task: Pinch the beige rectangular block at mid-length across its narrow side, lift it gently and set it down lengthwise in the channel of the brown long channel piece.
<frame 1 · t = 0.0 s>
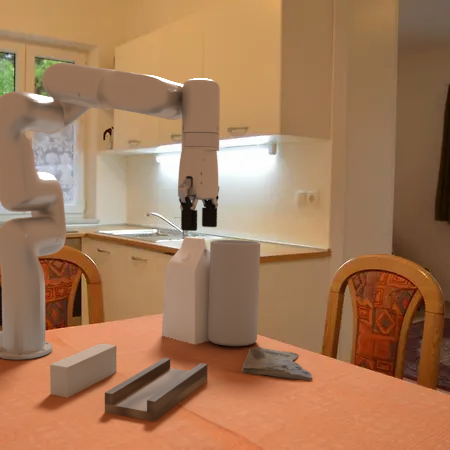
hand: (199, 228, 118), 31 cm above the table, tool pointing down, fingers open, 9 cm apart
cylinder vase: (232, 341, 147), on the table, touching milk
beige rectangular block: (85, 383, 118), on the table
brown long channel piece: (159, 395, 111), on the table
milk: (193, 336, 154), on the table, touching cylinder vase
fossil rock: (276, 368, 130), on the table
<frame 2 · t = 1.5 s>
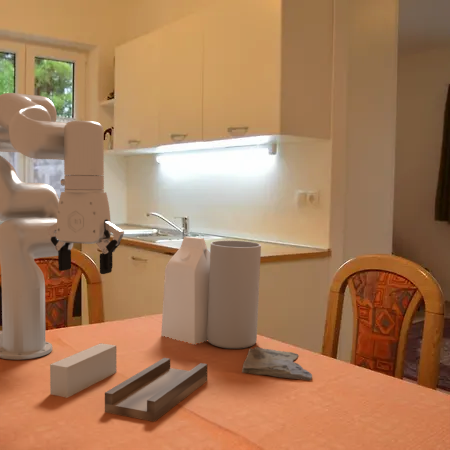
hand: (85, 271, 116), 23 cm above the table, tool pointing down, fingers open, 9 cm apart
cylinder vase: (231, 342, 148), on the table, touching milk
everything else where it was.
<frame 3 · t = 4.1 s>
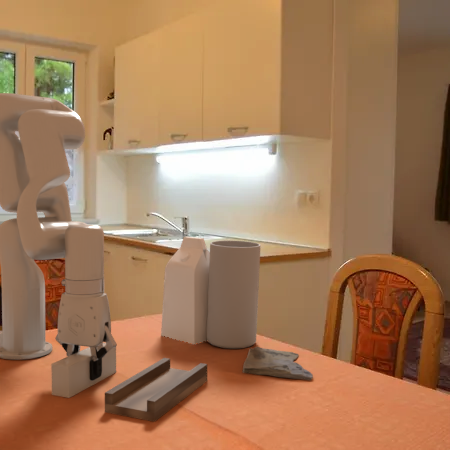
hand: (85, 375, 118), 1 cm above the table, tool pointing down, fingers closed on beige rectangular block, 4 cm apart
beige rectangular block: (85, 382, 118), on the table, touching gripper
everything else where it was.
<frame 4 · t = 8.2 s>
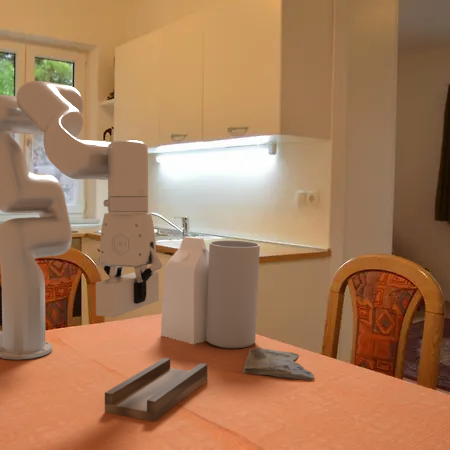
hand: (129, 300, 112), 18 cm above the table, tool pointing down, fingers closed on beige rectangular block, 4 cm apart
beige rectangular block: (129, 307, 113), point 16 cm above the table, touching gripper
everything else where it was.
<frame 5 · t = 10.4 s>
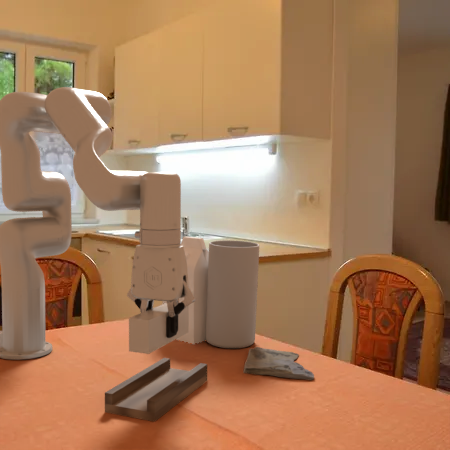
hand: (160, 333, 110), 12 cm above the table, tool pointing down, fingers closed on beige rectangular block, 4 cm apart
beige rectangular block: (160, 341, 111), point 11 cm above the table, touching gripper
everything else where it was.
when the fingers open (4 cm above the table, at t = 12.5 s): beige rectangular block stays where it is, resting on brown long channel piece.
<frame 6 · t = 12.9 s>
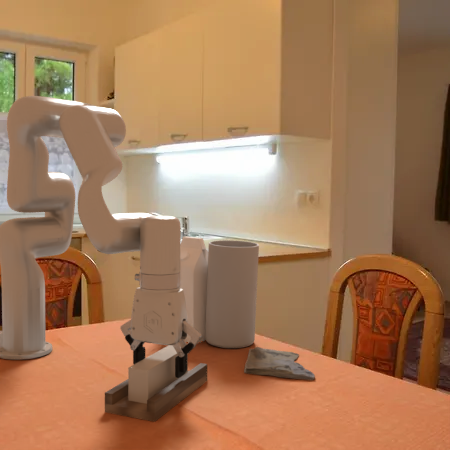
hand: (159, 372, 111), 5 cm above the table, tool pointing down, fingers open, 8 cm apart
beige rectangular block: (159, 387, 111), point 1 cm above the table, touching brown long channel piece
everything else where it was.
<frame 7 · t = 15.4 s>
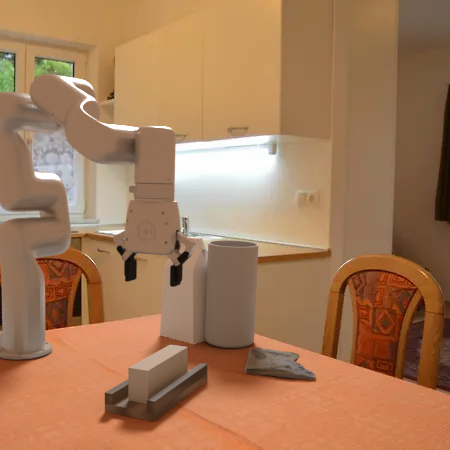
hand: (152, 282, 111), 21 cm above the table, tool pointing down, fingers open, 9 cm apart
nothing on the table moved.
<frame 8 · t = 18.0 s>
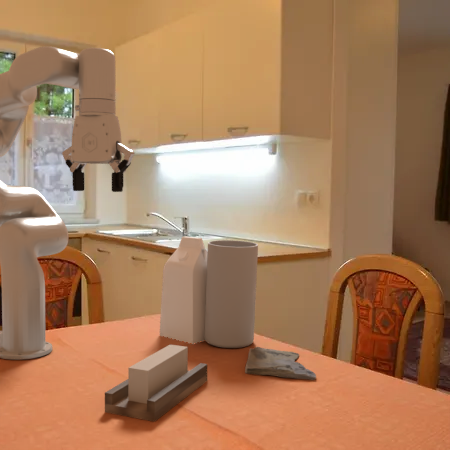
hand: (97, 191, 124), 38 cm above the table, tool pointing down, fingers open, 9 cm apart
cylinder vase: (228, 342, 148), on the table, touching milk
everything else where it was.
at the end: beige rectangular block inside the target area on the brown long channel piece (0.0 cm from its centre), point 1.5 cm above the brown long channel piece's base; beige rectangular block tilted 0°; the gripper is holding nothing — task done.
